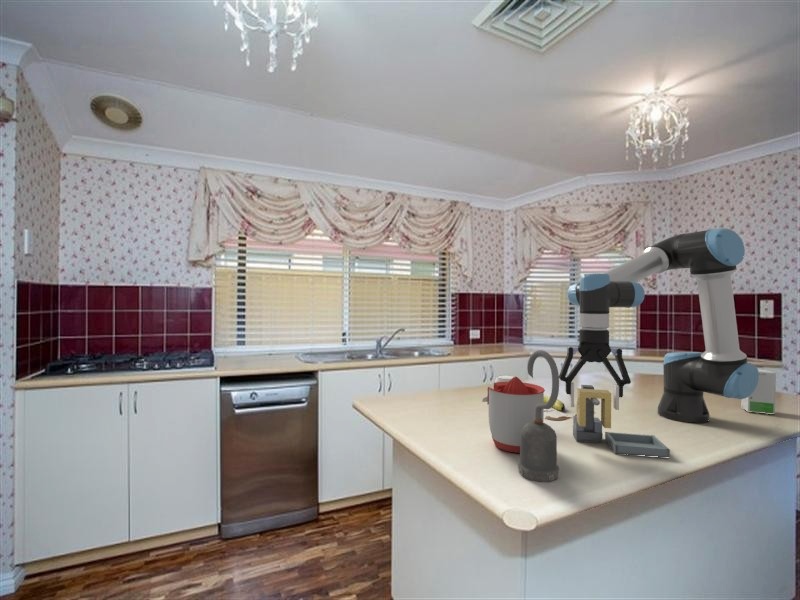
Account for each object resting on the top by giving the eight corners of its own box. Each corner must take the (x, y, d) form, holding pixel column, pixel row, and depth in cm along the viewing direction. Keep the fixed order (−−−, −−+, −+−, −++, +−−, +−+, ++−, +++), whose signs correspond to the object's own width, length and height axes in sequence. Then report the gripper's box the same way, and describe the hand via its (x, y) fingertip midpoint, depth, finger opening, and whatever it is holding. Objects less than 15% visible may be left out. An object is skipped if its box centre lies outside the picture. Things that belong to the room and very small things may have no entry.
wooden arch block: (607, 423, 113) (607, 390, 113) (611, 428, 109) (611, 393, 109) (576, 421, 115) (577, 388, 115) (579, 426, 111) (579, 391, 111)
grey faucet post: (597, 436, 122) (597, 384, 122) (610, 455, 108) (610, 396, 108) (572, 434, 124) (573, 383, 124) (582, 452, 110) (582, 394, 110)
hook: (538, 489, 89) (539, 354, 88) (508, 467, 100) (509, 347, 100) (575, 483, 92) (576, 352, 91) (542, 462, 103) (543, 346, 103)
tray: (654, 444, 116) (654, 435, 116) (669, 459, 106) (669, 449, 106) (605, 440, 119) (605, 431, 119) (615, 454, 109) (615, 445, 109)
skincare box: (747, 412, 148) (748, 370, 148) (740, 408, 154) (740, 367, 154) (776, 415, 145) (777, 372, 145) (767, 410, 151) (768, 369, 151)
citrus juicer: (491, 432, 126) (491, 369, 126) (549, 442, 117) (549, 374, 117) (473, 448, 112) (474, 377, 112) (538, 461, 104) (538, 384, 103)
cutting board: (609, 415, 147) (609, 404, 147) (553, 424, 135) (553, 413, 135) (539, 393, 179) (539, 385, 178) (489, 400, 167) (489, 391, 167)
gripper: (635, 328, 113) (635, 406, 113) (548, 326, 118) (548, 401, 119) (645, 330, 106) (644, 414, 106) (551, 328, 111) (551, 407, 111)
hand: (593, 407), depth 112 cm, fingers open, 11 cm apart
